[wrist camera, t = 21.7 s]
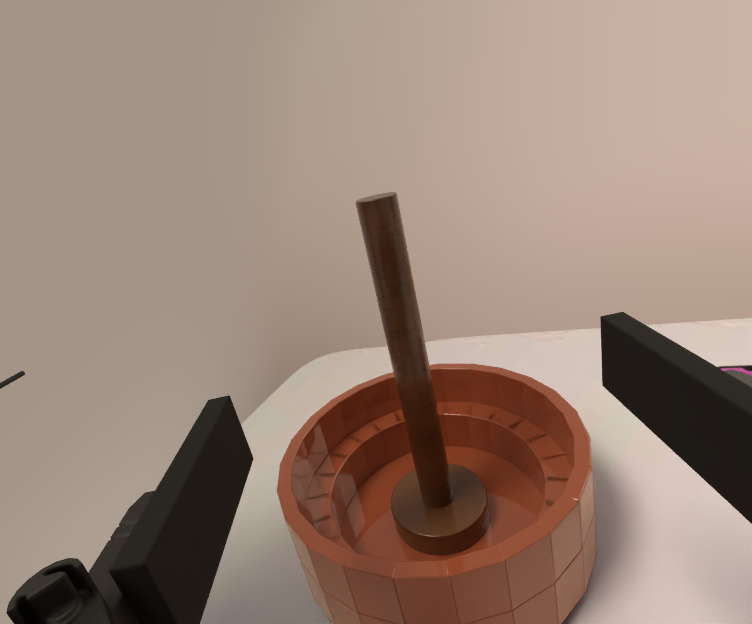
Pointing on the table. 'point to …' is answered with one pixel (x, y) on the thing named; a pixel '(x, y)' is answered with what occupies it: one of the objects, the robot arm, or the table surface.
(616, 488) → the table surface
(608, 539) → the table surface
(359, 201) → the paper towel holder
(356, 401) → the bowl
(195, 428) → the robot arm
